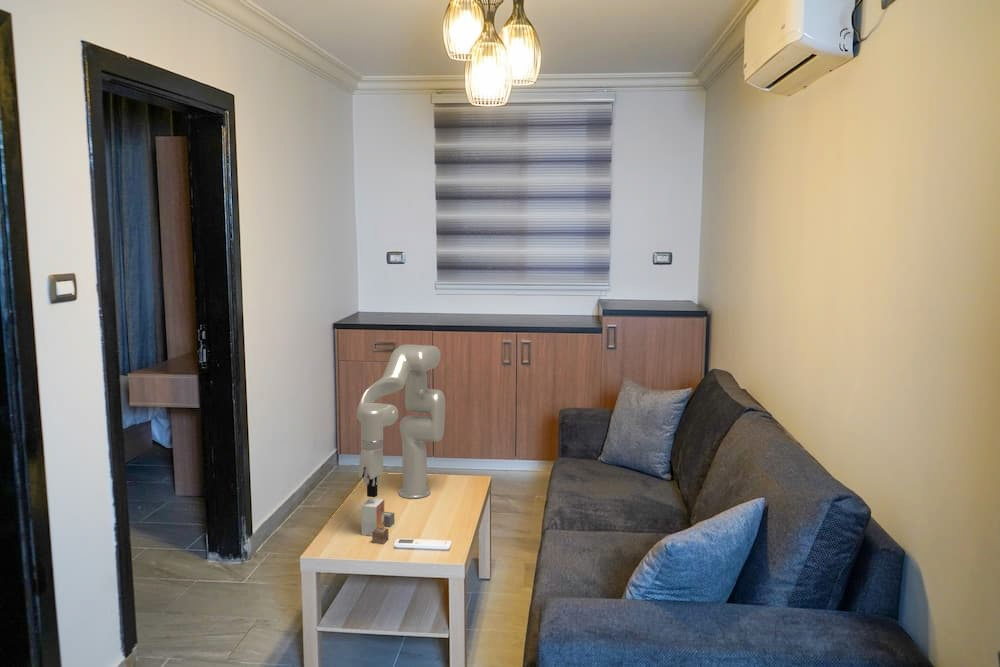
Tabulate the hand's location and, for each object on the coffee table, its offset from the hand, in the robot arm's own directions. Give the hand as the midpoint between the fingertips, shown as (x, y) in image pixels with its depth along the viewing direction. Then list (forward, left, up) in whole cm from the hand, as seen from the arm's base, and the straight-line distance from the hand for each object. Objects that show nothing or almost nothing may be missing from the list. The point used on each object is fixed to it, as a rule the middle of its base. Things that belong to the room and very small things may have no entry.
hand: (372, 496), depth 257 cm
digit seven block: (+6, +6, -13) cm, 16 cm away
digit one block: (-8, +2, -13) cm, 15 cm away
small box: (-1, 0, -13) cm, 13 cm away
